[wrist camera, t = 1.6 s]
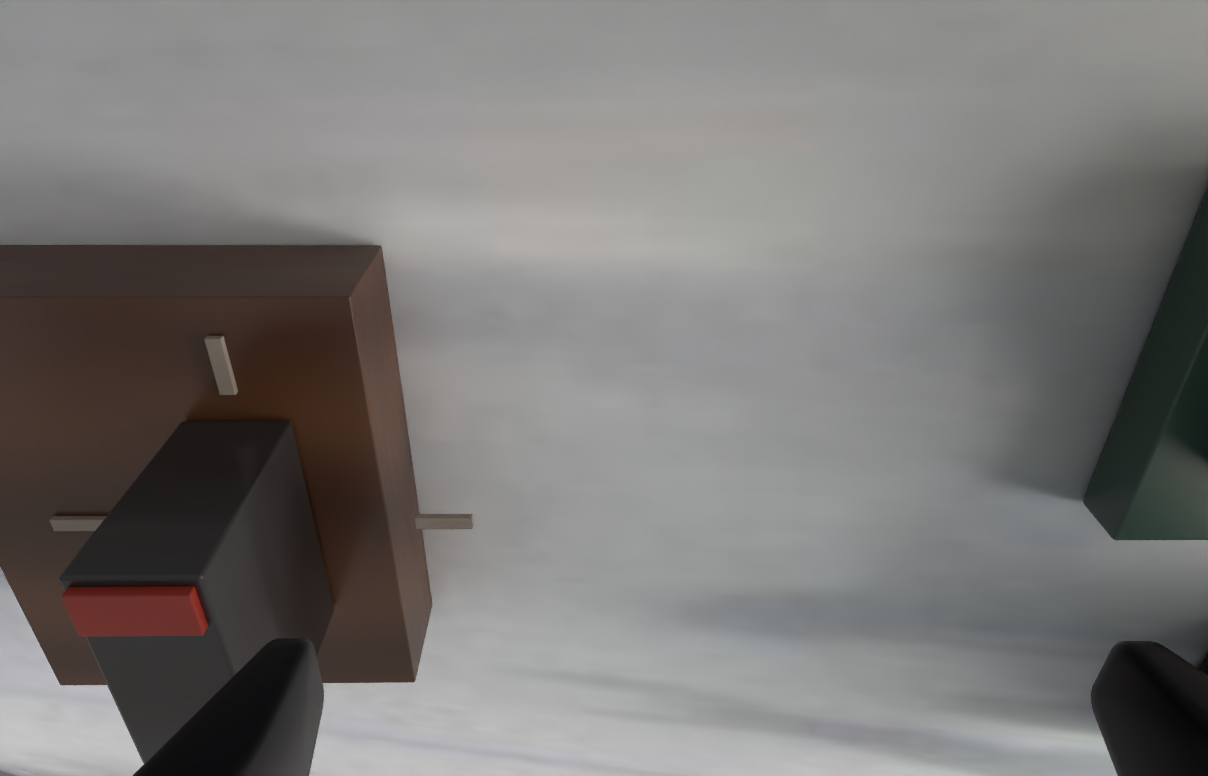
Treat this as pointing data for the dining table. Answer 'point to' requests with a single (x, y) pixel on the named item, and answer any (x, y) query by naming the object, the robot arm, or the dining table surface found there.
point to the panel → (210, 419)
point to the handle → (199, 572)
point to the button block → (1163, 418)
